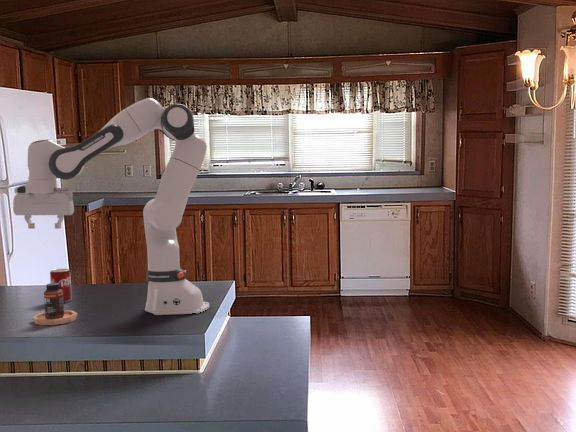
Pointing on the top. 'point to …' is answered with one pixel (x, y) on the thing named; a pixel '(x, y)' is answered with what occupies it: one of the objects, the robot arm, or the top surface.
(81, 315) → the top surface
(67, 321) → the dish
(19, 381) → the top surface
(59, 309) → the supplement bottle
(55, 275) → the soda can
